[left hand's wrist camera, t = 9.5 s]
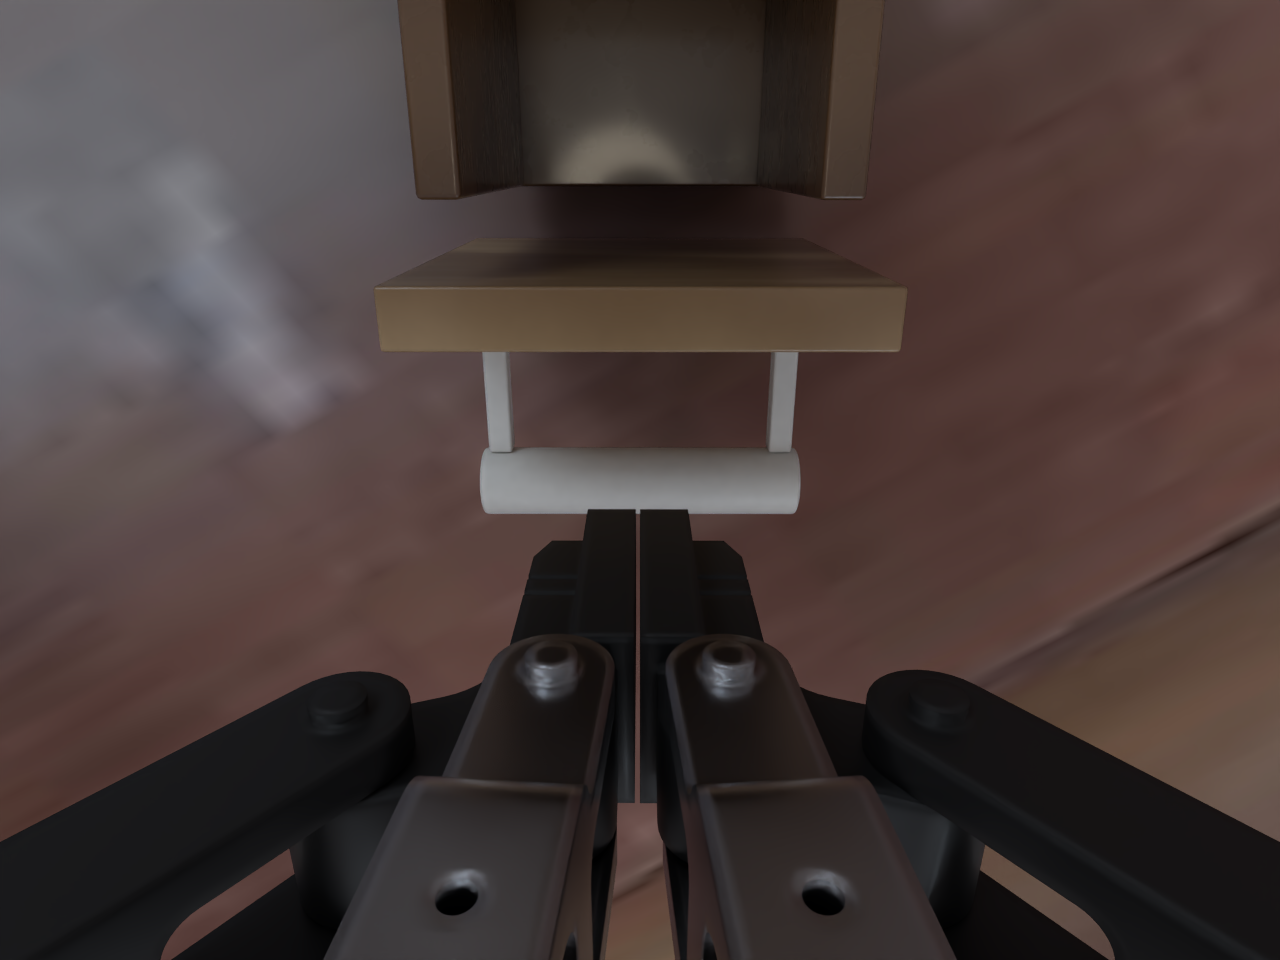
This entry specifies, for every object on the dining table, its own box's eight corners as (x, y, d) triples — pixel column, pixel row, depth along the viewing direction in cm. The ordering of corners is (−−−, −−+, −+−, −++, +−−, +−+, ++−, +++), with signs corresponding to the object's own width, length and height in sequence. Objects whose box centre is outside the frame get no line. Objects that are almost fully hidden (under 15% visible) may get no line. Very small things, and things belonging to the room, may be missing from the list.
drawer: (788, 457, 26) (869, 616, 17) (491, 457, 26) (411, 616, 17) (854, -431, 18) (1070, -1027, 9) (427, -431, 18) (213, -1027, 9)
